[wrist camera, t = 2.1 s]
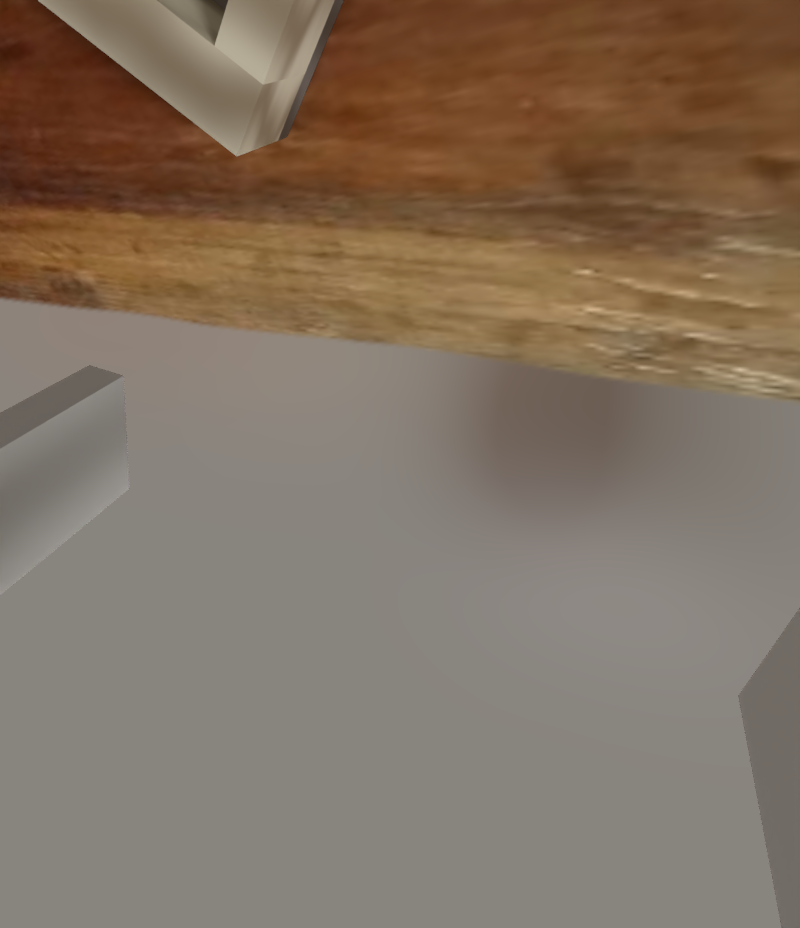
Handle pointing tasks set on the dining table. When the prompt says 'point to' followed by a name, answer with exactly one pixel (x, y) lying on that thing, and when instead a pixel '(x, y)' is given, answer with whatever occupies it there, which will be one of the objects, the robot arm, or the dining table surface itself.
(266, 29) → the hole block
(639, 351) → the dining table surface
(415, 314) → the dining table surface
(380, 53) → the dining table surface
